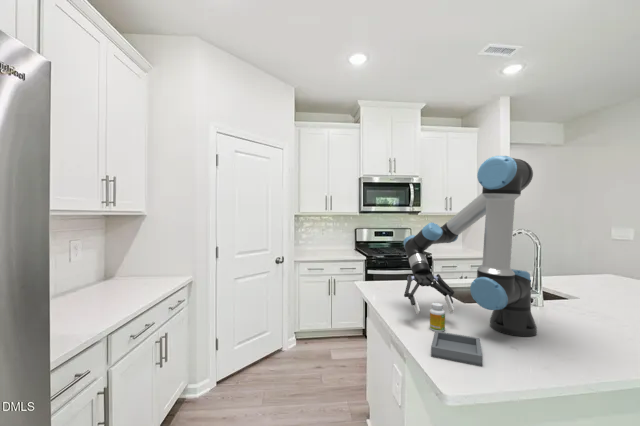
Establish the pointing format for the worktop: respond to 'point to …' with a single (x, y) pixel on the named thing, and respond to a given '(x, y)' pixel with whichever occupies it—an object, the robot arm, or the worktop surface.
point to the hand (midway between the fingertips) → (435, 312)
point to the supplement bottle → (437, 317)
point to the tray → (457, 348)
